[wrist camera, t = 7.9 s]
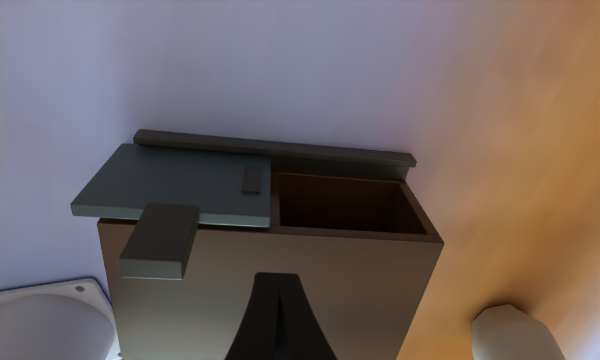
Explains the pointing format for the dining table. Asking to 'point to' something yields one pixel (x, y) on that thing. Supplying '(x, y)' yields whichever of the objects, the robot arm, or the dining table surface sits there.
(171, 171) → the door
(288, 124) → the dining table surface
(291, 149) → the cabinet
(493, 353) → the salt shaker
